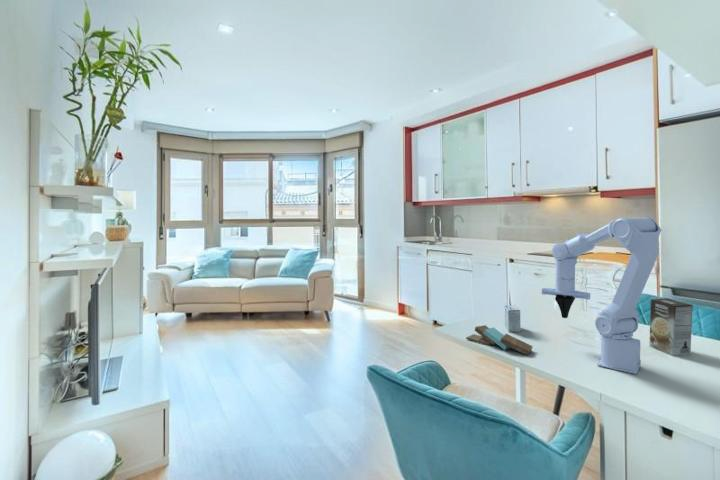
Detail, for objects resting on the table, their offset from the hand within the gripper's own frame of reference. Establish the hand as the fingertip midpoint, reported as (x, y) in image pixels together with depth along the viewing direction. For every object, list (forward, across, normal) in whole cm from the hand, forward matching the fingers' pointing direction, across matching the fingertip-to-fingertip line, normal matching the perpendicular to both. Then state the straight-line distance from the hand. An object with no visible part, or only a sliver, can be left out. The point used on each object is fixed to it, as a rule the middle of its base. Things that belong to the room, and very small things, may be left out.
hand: (564, 317), depth 127 cm
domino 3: (+9, +6, +16) cm, 19 cm away
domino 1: (+8, +17, +14) cm, 24 cm away
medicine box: (+10, +20, -6) cm, 23 cm away
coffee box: (+10, -27, -14) cm, 32 cm away
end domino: (+9, +19, +15) cm, 26 cm away
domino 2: (+9, +13, +16) cm, 22 cm away
